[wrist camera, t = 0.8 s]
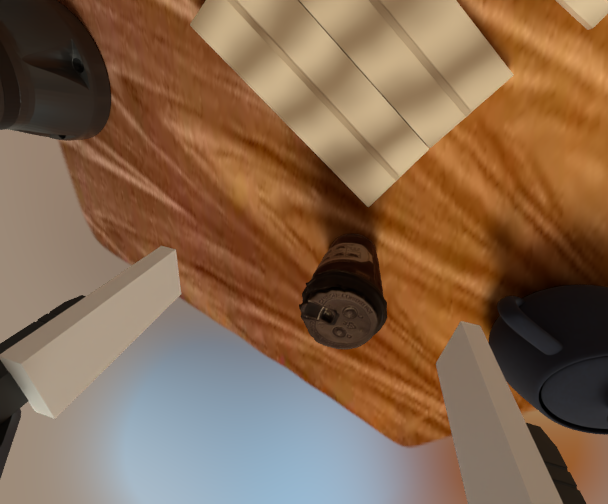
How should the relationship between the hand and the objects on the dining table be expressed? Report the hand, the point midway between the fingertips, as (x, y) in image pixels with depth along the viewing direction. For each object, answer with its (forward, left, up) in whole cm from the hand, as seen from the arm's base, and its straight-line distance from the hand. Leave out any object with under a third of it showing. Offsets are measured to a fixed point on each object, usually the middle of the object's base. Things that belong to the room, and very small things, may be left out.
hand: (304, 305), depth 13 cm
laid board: (-9, +12, -22) cm, 27 cm away
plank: (-9, +4, -21) cm, 23 cm away
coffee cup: (+7, -6, -22) cm, 24 cm away
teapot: (+31, +6, -22) cm, 38 cm away
